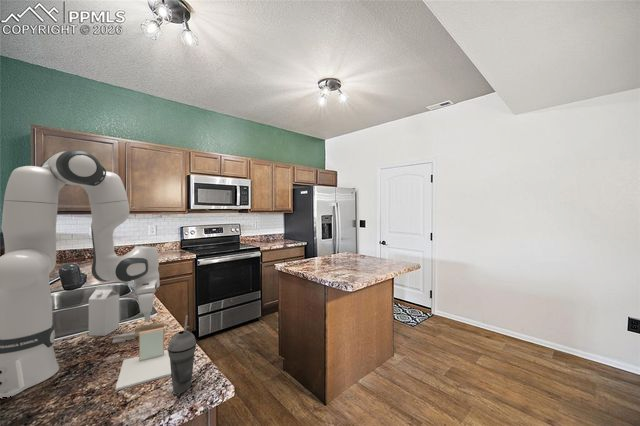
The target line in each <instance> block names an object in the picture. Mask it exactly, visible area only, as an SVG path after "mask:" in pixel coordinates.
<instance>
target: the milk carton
mask: <svg viewBox="0 0 640 426" xmlns="http://www.w3.org/2000/svg"><path fill="white" fill-rule="evenodd" d="M113 288H114V286H96V287H95V290H94V291H93V293H92V294H91V296H89V298H88V336H90V337H93V336H94V337H105V336H107V335H109V334H112V333H113V332H115V331H117V330H119V329H120V293H119V292H117V291H116V290H114V289H113ZM118 328H119V329H118ZM116 329H117V330H116Z"/></svg>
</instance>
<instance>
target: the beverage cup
mask: <svg viewBox="0 0 640 426" xmlns="http://www.w3.org/2000/svg"><path fill="white" fill-rule="evenodd" d="M188 317H189V315H185V319H184V320H185V321H184V328H183V330H180V331H178V332H176V333H175V334H174V335H173V336H172V337H171V338H170V340H169V342H168V346H167V350H168V354H169V358H170V365H171V375H170V377H171V384H172V388H173V389H172V390H173V392H175V393H183V392H185V391H187V390H189V389H190V388H191V386H192V380H193V370H194V362H195V351H196V348H197V347H196V346H197V341H196V337H195V335H194V334H193V333H192V332H191V331H189V330H187V326H188Z"/></svg>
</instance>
